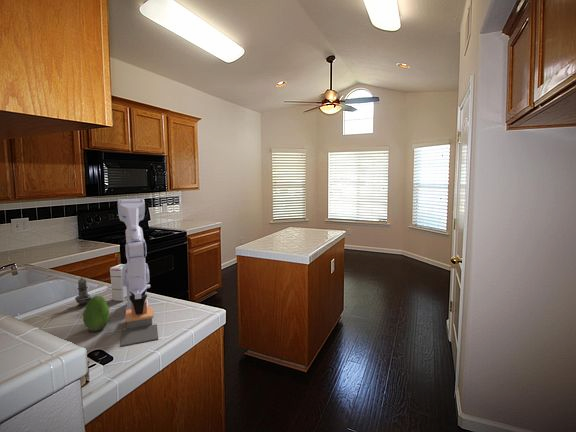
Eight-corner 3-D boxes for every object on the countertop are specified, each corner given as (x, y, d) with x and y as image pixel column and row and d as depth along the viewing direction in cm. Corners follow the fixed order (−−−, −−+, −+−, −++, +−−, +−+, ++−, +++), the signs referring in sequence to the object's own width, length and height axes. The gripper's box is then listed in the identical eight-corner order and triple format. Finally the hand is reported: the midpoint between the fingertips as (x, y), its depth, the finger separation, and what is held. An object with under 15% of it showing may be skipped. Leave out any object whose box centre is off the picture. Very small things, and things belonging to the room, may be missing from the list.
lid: (126, 314, 119) (125, 299, 118) (152, 310, 123) (152, 295, 122) (125, 325, 111) (124, 308, 110) (153, 320, 115) (152, 304, 114)
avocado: (115, 324, 115) (113, 292, 114) (99, 335, 108) (97, 301, 106) (95, 323, 117) (92, 291, 115) (78, 333, 109) (75, 299, 107)
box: (128, 320, 119) (127, 312, 119) (151, 316, 123) (151, 308, 122) (127, 329, 112) (126, 321, 112) (152, 325, 115) (151, 317, 115)
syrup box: (123, 301, 136) (121, 268, 134) (111, 300, 137) (109, 267, 136) (132, 296, 142) (131, 264, 140) (121, 295, 143) (119, 263, 141)
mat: (122, 331, 111) (122, 329, 111) (156, 325, 115) (156, 324, 115) (120, 346, 101) (120, 345, 101) (158, 339, 106) (158, 338, 105)
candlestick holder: (81, 302, 135) (79, 274, 134) (95, 302, 135) (93, 274, 133) (72, 308, 129) (69, 279, 128) (86, 308, 129) (84, 279, 128)
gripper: (150, 279, 110) (151, 317, 112) (149, 268, 123) (150, 302, 125) (127, 282, 107) (129, 320, 109) (128, 270, 120) (130, 304, 122)
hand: (139, 311), depth 117 cm, fingers open, 4 cm apart
